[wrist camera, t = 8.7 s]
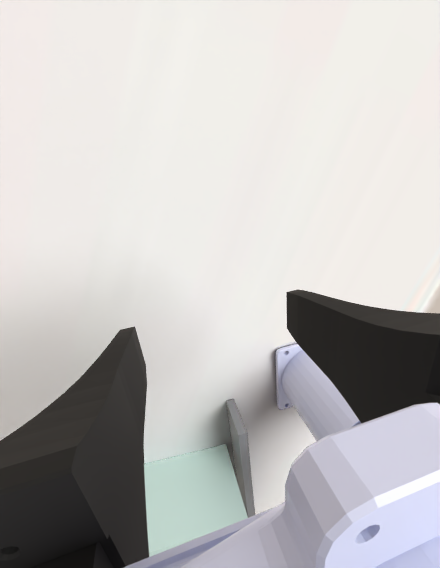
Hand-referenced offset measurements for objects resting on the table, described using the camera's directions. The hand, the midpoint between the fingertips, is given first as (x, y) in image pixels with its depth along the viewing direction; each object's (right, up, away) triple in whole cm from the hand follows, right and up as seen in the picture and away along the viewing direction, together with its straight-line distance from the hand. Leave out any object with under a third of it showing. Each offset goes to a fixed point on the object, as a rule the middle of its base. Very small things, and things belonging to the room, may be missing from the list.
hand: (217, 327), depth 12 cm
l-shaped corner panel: (-5, -22, +18) cm, 29 cm away
